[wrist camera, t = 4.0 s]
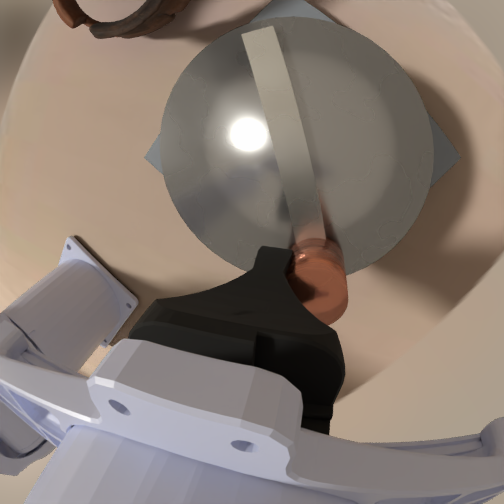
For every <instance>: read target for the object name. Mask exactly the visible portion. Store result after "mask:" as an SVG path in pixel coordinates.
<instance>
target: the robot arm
mask: <svg viewBox="0 0 504 504" xmlns="http://www.w3.org/2000/svg"><path fill="white" fill-rule="evenodd" d="M292 252H293V250H290V249H283V248H276V247H269V246H261V247H260V249H259V250H258V252H257V256H256V259H255V262H254V266H253V268H252V269H251V270H249V271H248V272H247V273H245V274H243V275H242V276H240V277H238V278H236V279H234V280H232V281H230V282H228V283H226V284H223V285H220V286H217V287H215V288H212V289H209V290H206V291H202V292H199V293H195V294H190V295H185V296H180V297H172V298H164V299H156V300H155V301H154V302H153V303H152V304H151V306H150V307H149V308H148V309H147V310H146V311H145V313H144V314H143V315H142V317H141V318H140V319H139V321H138V322H137V323H136V324H135V326H134V327H133V328H132V330H131V331H130V332H129V337H128V339H124V338H123V339H122V340H121V341H119V342H118V343H117V344H115V345H114V346H113V347H112V348H111V350H110V351H109V352H108V354H107V355H106V356H105V358H104V359H103V360H102V361H101V363H100V364H99V365H98V367H97V368H96V369H95V371H94V372H93V373H92V375H91V376H90V377H89V378H88V377H85V376H83V375H81V374H79V373H77V372H78V371H79V369H80V368H81V367H82V366H83V365H84V363H85V362H86V361H87V360H88V358H89V357H90V356H91V355H92V354H93V352H94V351H95V350H96V349H97V347H98V346H99V345H101V346H102V347H104V348H106V347H107V346H108V345H109V343H110V342H111V340H112V339H113V338H114V336H115V335H116V334H117V332H118V331H119V329H120V328H121V327H122V325H123V324H124V323H125V321H126V320H127V318H128V317H129V316H130V314H131V313H132V312H133V310H134V309H135V308H136V306H137V305H138V299H137V298H136V297H135V296H134V295H133V294H132V293H131V292H130V291H128V290H127V289H126V288H125V287H124V286H123V285H122V284H121V283H120V282H119V281H118V280H117V279H116V278H114V277H113V276H112V275H111V274H110V273H109V272H108V271H107V270H106V269H105V268H104V267H103V266H102V265H101V264H100V263H99V262H98V261H97V260H96V259H95V258H94V257H93V256H92V255H91V254H90V253H89V252H88V251H87V250H86V249H85V248H84V247H83V246H82V245H81V244H80V243H79V242H78V241H77V240H76V239H75V238H74V237H73V236H69V237H68V238H67V240H66V243H65V246H64V249H63V252H62V255H61V258H60V261H59V265H58V267H57V268H55V269H54V270H53V271H51V272H50V273H49V274H47V275H46V276H45V277H43V278H42V279H41V280H40V281H38V282H37V283H36V284H35V285H33V286H32V287H31V288H30V289H28V290H27V291H26V292H25V293H23V294H22V295H21V296H20V297H19V298H17V299H16V300H15V301H14V302H13V303H12V304H10V305H9V306H8V307H7V308H6V309H5V310H3V311H2V312H1V313H0V474H5V475H12V476H17V475H18V474H19V473H20V472H21V471H23V470H24V469H25V468H26V467H27V466H29V465H30V464H31V463H33V462H35V461H36V460H39V459H42V458H44V457H45V456H47V455H48V454H50V453H51V452H52V451H53V450H54V449H55V448H56V447H57V450H56V452H55V453H54V454H53V456H52V457H51V459H50V461H49V462H48V464H47V465H46V467H45V469H44V470H43V472H42V473H41V475H40V477H39V478H38V480H37V482H36V483H35V485H34V487H33V488H32V490H31V492H30V493H29V495H28V497H27V498H26V500H25V502H24V504H483V503H485V502H487V501H489V500H491V499H493V498H494V497H496V496H498V495H499V494H501V493H502V492H504V417H501V418H497V419H495V420H493V421H492V422H490V423H489V424H488V425H487V426H486V427H485V428H484V429H483V430H482V431H481V433H479V434H473V435H467V436H462V437H454V438H446V439H438V440H428V441H415V442H394V443H358V442H354V441H350V440H345V439H341V438H337V437H333V436H330V435H329V430H330V420H331V419H332V416H333V404H334V402H335V400H336V397H337V395H338V393H339V391H340V389H341V387H342V384H343V382H344V377H345V363H344V357H343V352H342V348H341V344H340V341H339V338H338V335H337V332H336V331H335V330H333V329H332V328H330V327H329V326H328V325H326V324H325V323H323V322H322V321H320V320H319V319H318V318H316V317H315V316H314V315H313V314H312V313H311V312H309V311H308V310H307V309H306V307H305V306H304V305H303V304H302V303H301V302H300V301H299V299H298V298H297V297H296V295H295V294H294V292H293V291H292V289H291V287H290V285H289V283H288V281H287V279H286V274H287V271H288V268H289V265H290V262H291V257H292Z"/></svg>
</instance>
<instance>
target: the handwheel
mask: <svg viewBox="0 0 504 504" xmlns="http://www.w3.org/2000/svg"><path fill="white" fill-rule="evenodd" d="M160 158H161V166H162V171H163V175H164V179H165V183H166V186H167V189H168V192H169V194H170V197H171V199H172V201H173V203H174V205H175V207H176V209H177V211H178V213H179V214H180V216H181V217H182V219H183V220H184V222H185V223H186V224H187V226H188V227H189V229H190V230H191V231H192V232H193V233H194V234H195V235H196V237H197V238H198V239H199V240H200V241H201V242H202V243H203V244H205V245H206V246H207V247H208V248H209V249H210V250H211V251H212V252H214V253H215V254H217V255H218V256H219V257H221V258H222V259H224V260H225V261H227V262H229V263H230V264H232V265H234V266H236V267H238V268H240V269H242V270H244V271H247V272H248V271H249V270H251V269H252V268H253V266H254V262H255V259H256V256H257V252H258V250H259V249H260V247H261V246H269V247H276V248H283V249H290V250H293V252H292V257H291V262H290V265H289V268H288V271H287V274H286V279H287V281H288V283H289V285H290V287H291V289H292V291H293V292H294V294H295V295H296V297H297V298H298V299H299V301H300V302H301V303H302V304H303V305H304V306H305V307H306V309H307V310H308V311H309V312H311V313H312V314H313V315H314V316H315V317H316V318H318V319H319V320H320V321H322V322H323V323H325V324H326V325H330V324H332V323H334V322H335V321H337V320H338V319H339V318H340V317H341V316H342V315H343V313H344V312H345V310H346V308H347V305H348V290H347V281H346V275H349V274H352V273H354V272H356V271H359V270H361V269H363V268H365V267H367V266H369V265H370V264H372V263H374V262H375V261H377V260H378V259H380V258H381V257H383V256H384V255H385V254H386V253H388V252H389V251H390V250H391V249H392V248H394V247H395V246H396V244H397V243H398V242H399V241H400V240H401V239H402V238H403V237H404V236H405V235H406V233H407V232H408V231H409V229H410V228H411V226H412V225H413V224H414V222H415V221H416V219H417V217H418V215H419V213H420V211H421V209H422V207H423V205H424V202H425V200H426V197H427V194H428V191H429V188H430V183H431V178H432V173H433V162H434V147H433V135H432V130H431V126H430V121H429V117H428V114H427V111H426V109H425V106H424V104H423V101H422V99H421V97H420V95H419V93H418V91H417V89H416V88H415V86H414V84H413V82H412V81H411V79H410V78H409V77H408V75H407V74H406V73H405V71H404V70H403V69H402V67H401V66H400V65H399V64H398V63H397V62H396V61H395V60H394V59H393V58H392V57H391V56H390V55H389V54H388V53H387V52H386V51H385V50H383V49H382V48H381V47H379V46H378V45H377V44H375V43H374V42H373V41H371V40H370V39H368V38H367V37H365V36H363V35H361V34H359V33H357V32H356V31H354V30H352V29H349V28H347V27H344V26H341V25H339V24H336V23H333V22H329V21H325V20H320V19H316V18H308V17H295V16H292V17H275V18H269V19H264V20H259V21H255V22H252V23H249V24H246V25H243V26H241V27H238V28H236V29H234V30H232V31H230V32H228V33H226V34H224V35H222V36H220V37H219V38H218V39H216V40H215V41H213V42H212V43H211V44H209V45H208V46H206V47H205V48H204V49H203V50H202V51H201V52H200V53H199V54H198V55H197V56H196V57H195V58H194V59H193V60H192V61H191V62H190V63H189V65H188V66H187V67H186V68H185V70H184V71H183V72H182V74H181V75H180V77H179V79H178V80H177V82H176V84H175V86H174V87H173V89H172V92H171V94H170V96H169V99H168V101H167V104H166V107H165V111H164V115H163V118H162V124H161V132H160Z"/></svg>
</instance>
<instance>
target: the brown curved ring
mask: <svg viewBox="0 0 504 504" xmlns="http://www.w3.org/2000/svg"><path fill="white" fill-rule="evenodd" d="M52 1H53V4H54V7H55V8H56V10H57V13H58V15H59V16H60V18H61V19H62V20H63V21H64V22H65V24H67V25H68V26H69V27H70V28H76V27H78V26H79V25H81V24H85V25H86V26H88V27H90V28H89V30H90V32H91V33H92V34H93V35H94V37H95V38H98V39H104V38H112V37H122V38H127V39H128V38H135V37H139V36H142V35H146V34H148V33H151V32H153V31H155V30H158V29H159V28H161V27H163V26H165V25H166V24H168V23H170V22H172V21H173V20H174V19H175V17H176V15H175V13H177V12H180V11H182V10H184V9H185V7H186V6H187V4H188V3H189V1H190V0H146V2H145V3H144V4H143V5H142V6H141V7H140V8H139V9H138V10H137V11H135V12H134V13H133V14H131V15H130V16H128V17H127V18H125V19H123V20H120V21H115V22H99V21H96V20H94V19H92V18H91V17H89V16H88V15H87V14H85V13H84V12H83V11H82V9H81V8H80V7H79V5H78V4H77V2H76V0H52Z"/></svg>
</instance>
